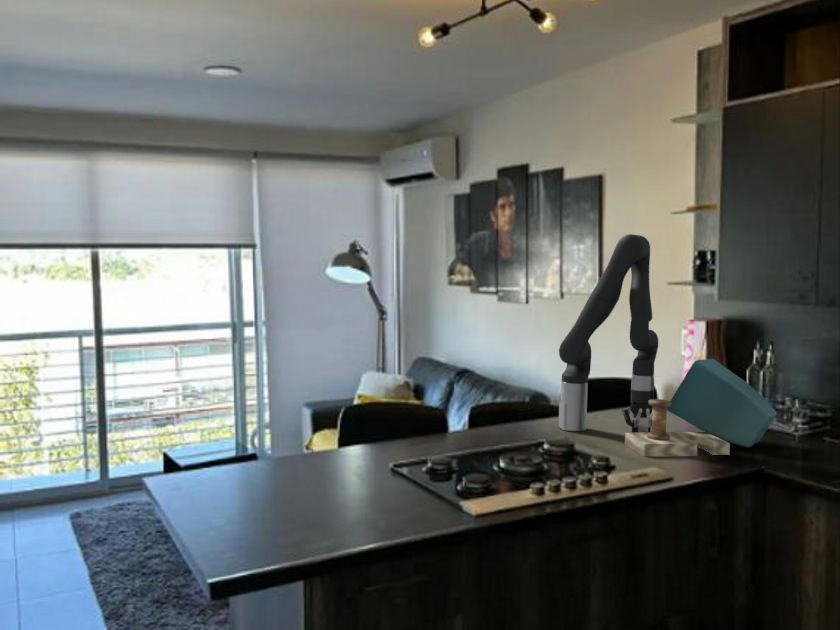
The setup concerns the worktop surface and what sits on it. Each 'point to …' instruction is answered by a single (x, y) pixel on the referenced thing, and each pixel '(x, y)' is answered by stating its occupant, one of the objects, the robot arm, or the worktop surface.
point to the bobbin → (659, 419)
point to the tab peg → (643, 424)
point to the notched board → (676, 444)
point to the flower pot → (722, 404)
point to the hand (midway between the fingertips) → (640, 437)
